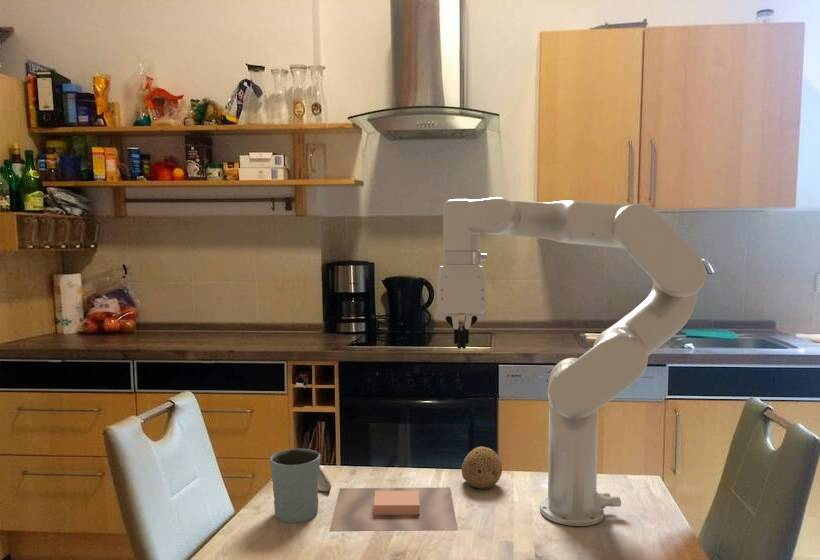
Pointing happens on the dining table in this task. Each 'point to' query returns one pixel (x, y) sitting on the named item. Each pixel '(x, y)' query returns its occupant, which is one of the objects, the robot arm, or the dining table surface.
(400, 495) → the tile
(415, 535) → the dining table surface
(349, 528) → the board
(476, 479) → the natural sponge
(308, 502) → the grey green cup
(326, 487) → the ceramic fragment
